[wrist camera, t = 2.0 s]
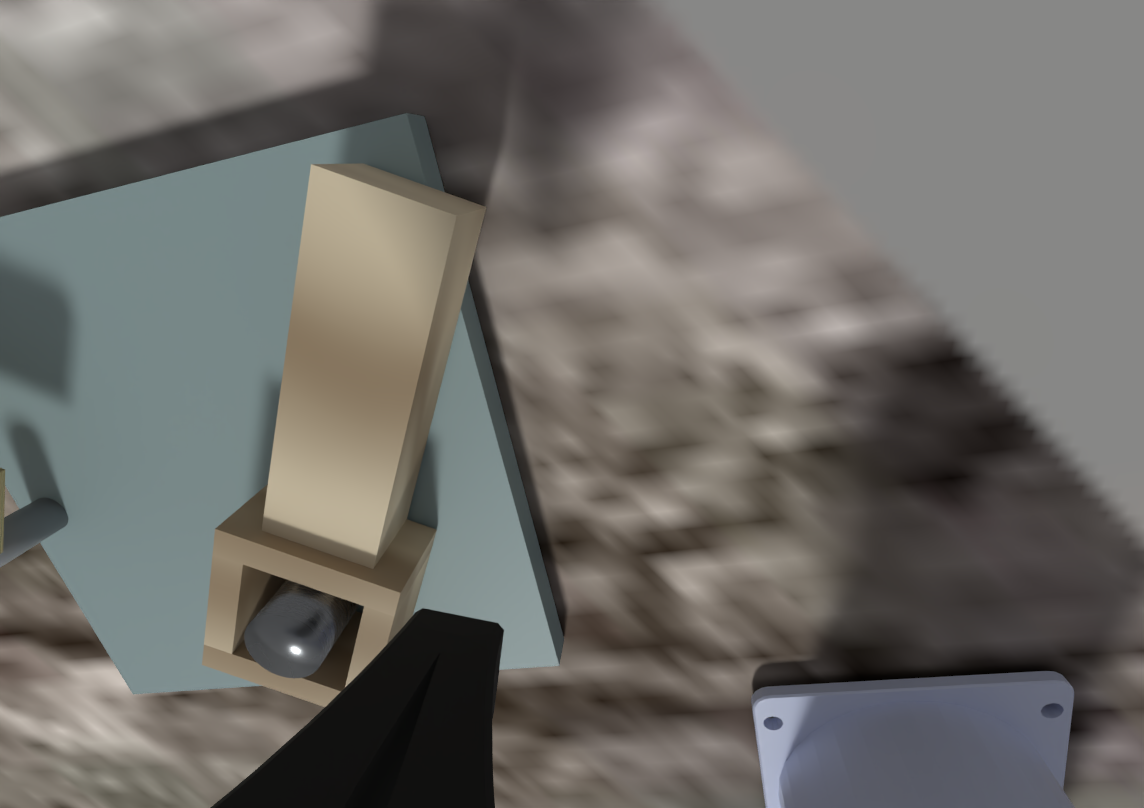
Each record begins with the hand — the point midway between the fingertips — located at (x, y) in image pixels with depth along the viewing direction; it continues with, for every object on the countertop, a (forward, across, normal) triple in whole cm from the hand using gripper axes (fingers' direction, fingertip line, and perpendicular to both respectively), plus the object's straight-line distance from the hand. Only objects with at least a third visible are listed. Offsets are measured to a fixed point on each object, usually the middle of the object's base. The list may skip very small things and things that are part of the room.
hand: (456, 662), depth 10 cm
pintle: (+6, +4, +3) cm, 8 cm away
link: (+5, +4, -1) cm, 7 cm away
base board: (+6, +7, +1) cm, 10 cm away
